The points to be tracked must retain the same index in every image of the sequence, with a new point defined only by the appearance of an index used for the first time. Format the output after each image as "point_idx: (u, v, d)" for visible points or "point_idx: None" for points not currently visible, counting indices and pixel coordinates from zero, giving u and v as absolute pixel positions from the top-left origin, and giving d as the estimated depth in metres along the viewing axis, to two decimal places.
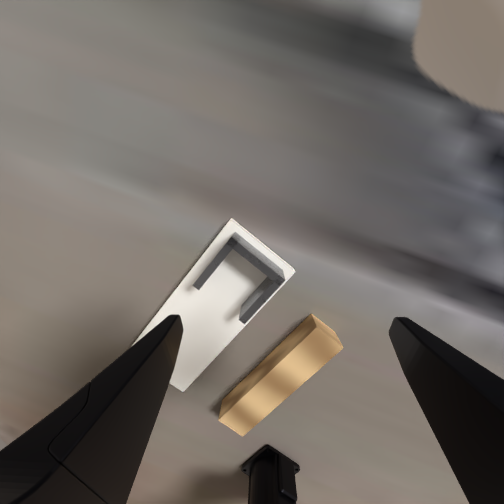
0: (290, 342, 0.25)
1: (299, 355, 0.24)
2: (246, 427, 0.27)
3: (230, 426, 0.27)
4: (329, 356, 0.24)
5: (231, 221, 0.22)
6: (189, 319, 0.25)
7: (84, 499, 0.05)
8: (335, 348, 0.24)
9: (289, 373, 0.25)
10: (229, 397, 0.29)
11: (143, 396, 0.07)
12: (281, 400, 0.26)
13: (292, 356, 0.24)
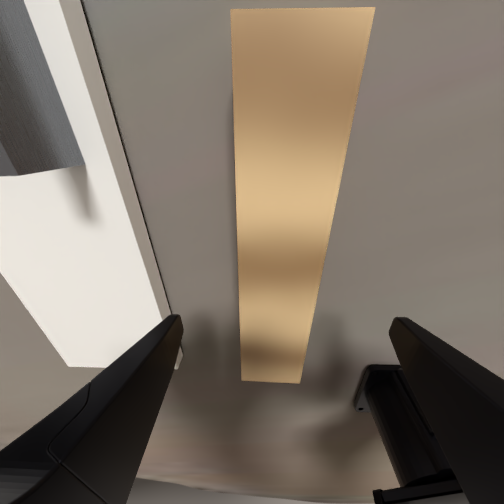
0: None
1: (262, 161, 0.08)
2: (293, 369, 0.14)
3: (267, 379, 0.15)
4: (345, 88, 0.07)
5: None
6: (52, 267, 0.12)
7: (84, 499, 0.05)
8: (350, 39, 0.06)
9: (281, 227, 0.09)
10: None
11: (143, 396, 0.07)
12: (313, 294, 0.11)
13: (251, 179, 0.08)
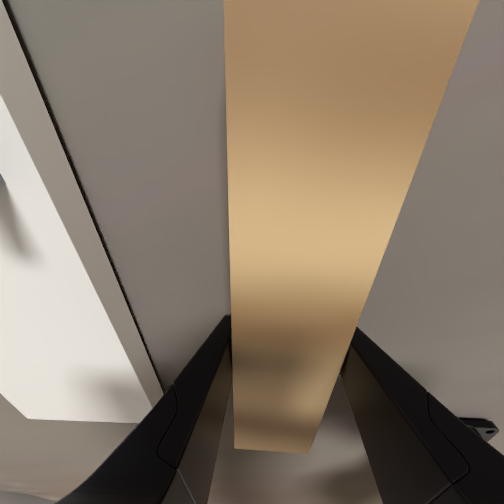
0: None
1: (273, 182, 0.05)
2: (301, 440, 0.11)
3: (267, 449, 0.11)
4: (432, 58, 0.04)
5: None
6: None
7: None
8: None
9: (298, 279, 0.06)
10: None
11: (218, 398, 0.07)
12: (337, 362, 0.08)
13: (254, 210, 0.05)
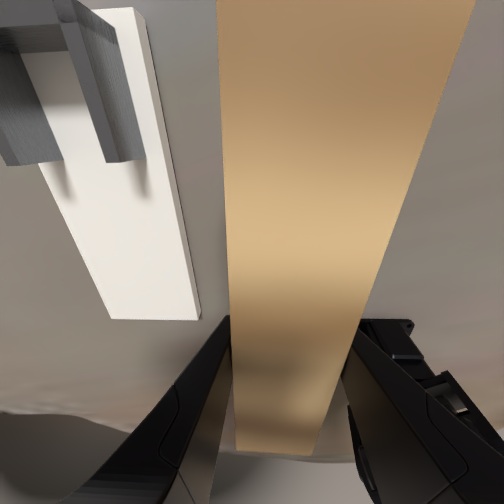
0: None
1: (271, 179, 0.05)
2: (303, 441, 0.11)
3: (269, 450, 0.11)
4: (432, 47, 0.04)
5: None
6: (111, 233, 0.17)
7: None
8: None
9: (297, 278, 0.06)
10: None
11: (219, 398, 0.07)
12: (338, 363, 0.08)
13: (251, 207, 0.05)
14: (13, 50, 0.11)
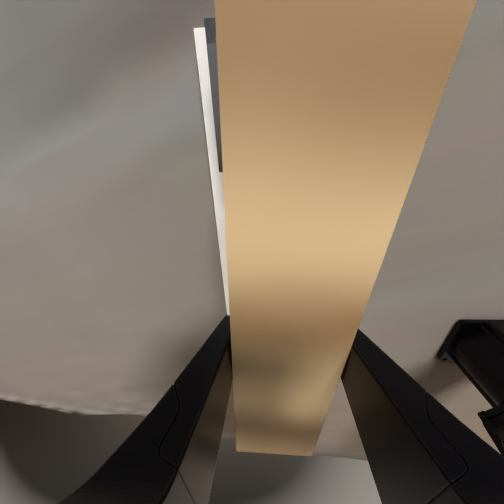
0: None
1: (270, 177, 0.05)
2: (304, 442, 0.11)
3: (269, 451, 0.11)
4: (435, 41, 0.03)
5: (198, 30, 0.12)
6: None
7: None
8: None
9: (298, 277, 0.06)
10: None
11: (219, 398, 0.07)
12: (339, 363, 0.07)
13: (251, 207, 0.05)
14: None
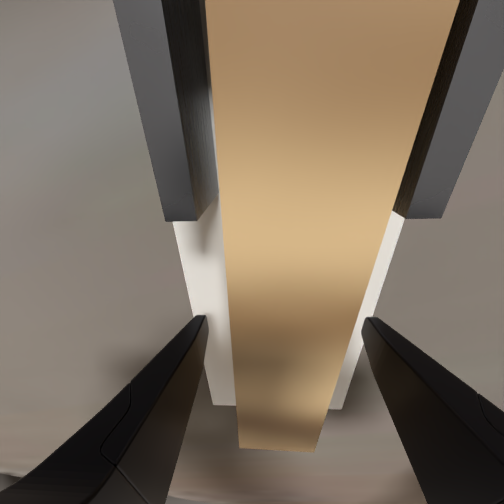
0: None
1: (264, 176, 0.05)
2: (306, 438, 0.11)
3: (272, 448, 0.11)
4: (420, 41, 0.04)
5: None
6: None
7: (133, 501, 0.05)
8: None
9: (294, 274, 0.06)
10: None
11: (179, 397, 0.07)
12: (338, 358, 0.08)
13: (246, 205, 0.05)
14: None
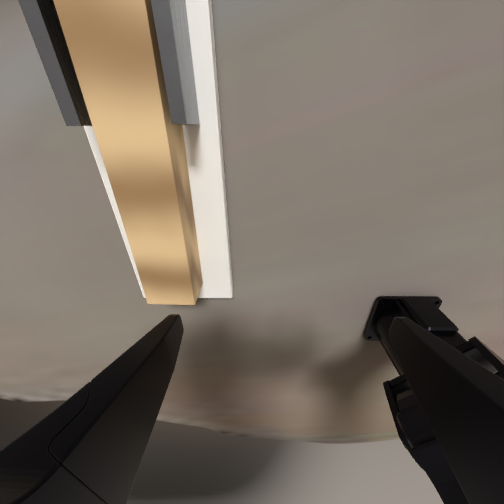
0: None
1: (104, 101, 0.11)
2: (185, 290, 0.17)
3: (168, 302, 0.18)
4: (143, 45, 0.10)
5: None
6: None
7: (84, 499, 0.05)
8: (134, 10, 0.09)
9: (135, 157, 0.12)
10: None
11: (143, 396, 0.07)
12: (177, 216, 0.14)
13: (100, 116, 0.11)
14: None
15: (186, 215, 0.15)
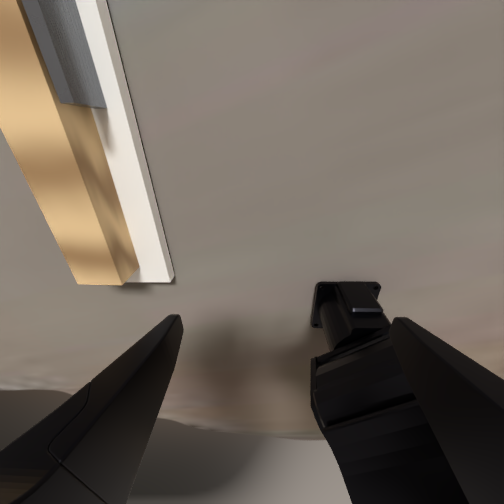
0: None
1: None
2: (109, 270, 0.18)
3: (96, 282, 0.19)
4: (18, 29, 0.11)
5: None
6: None
7: (84, 498, 0.05)
8: None
9: (34, 136, 0.13)
10: None
11: (143, 396, 0.07)
12: (85, 194, 0.15)
13: None
14: None
15: (102, 195, 0.16)
